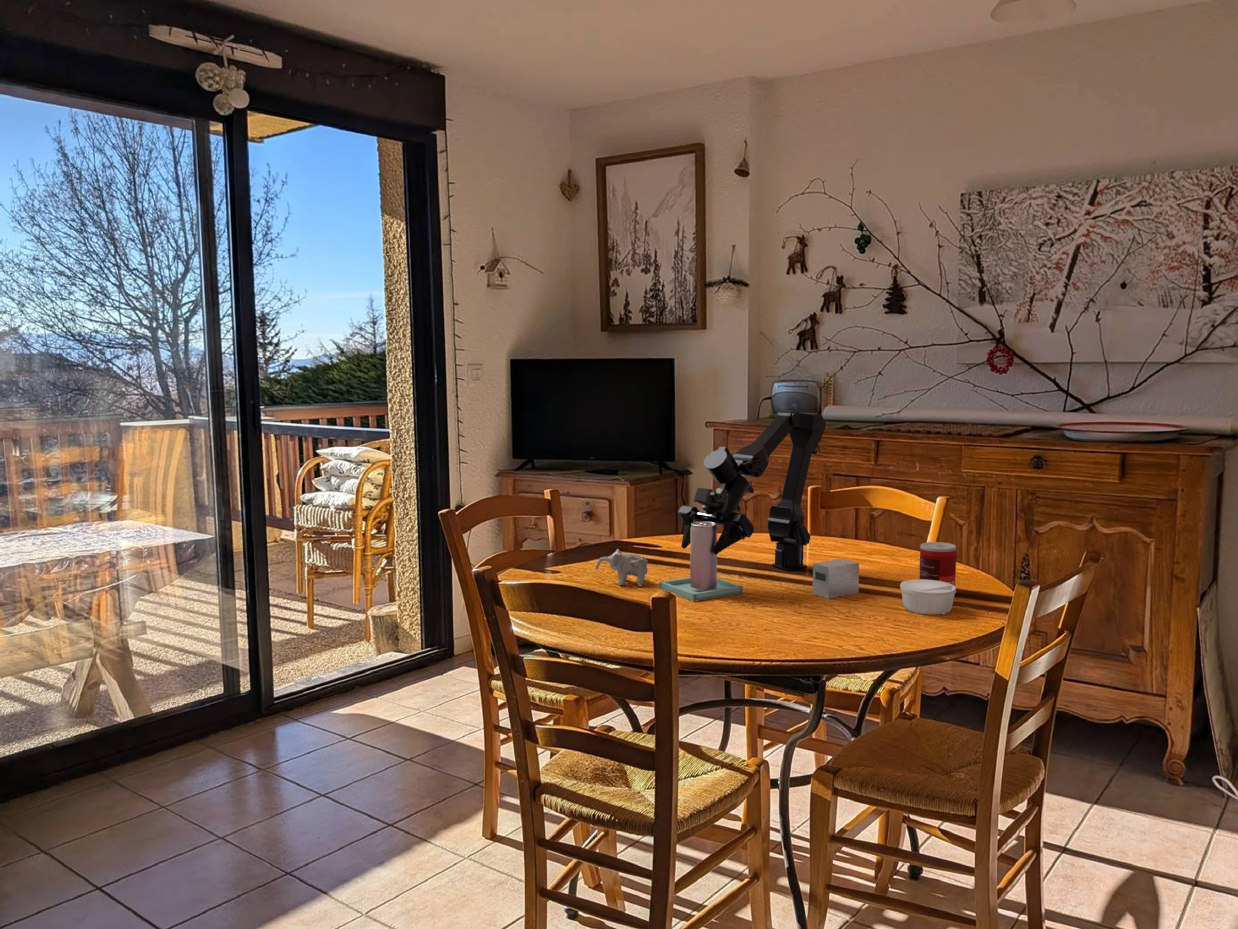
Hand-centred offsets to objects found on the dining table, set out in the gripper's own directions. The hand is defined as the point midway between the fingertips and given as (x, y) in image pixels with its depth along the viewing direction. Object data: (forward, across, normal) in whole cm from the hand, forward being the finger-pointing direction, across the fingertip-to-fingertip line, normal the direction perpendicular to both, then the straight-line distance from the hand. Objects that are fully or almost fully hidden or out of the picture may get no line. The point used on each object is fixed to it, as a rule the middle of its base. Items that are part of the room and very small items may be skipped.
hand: (698, 550), depth 222 cm
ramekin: (-8, +44, +22) cm, 50 cm away
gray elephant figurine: (+11, -18, +3) cm, 21 cm away
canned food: (-18, +40, +32) cm, 54 cm away
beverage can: (+6, +1, +7) cm, 9 cm away
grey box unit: (-7, +23, +21) cm, 32 cm away
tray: (+6, 0, +7) cm, 10 cm away
